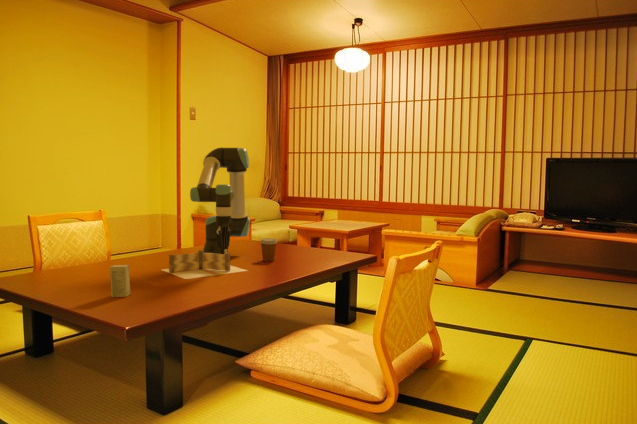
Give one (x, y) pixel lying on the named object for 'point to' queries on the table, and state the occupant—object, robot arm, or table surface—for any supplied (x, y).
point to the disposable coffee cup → (268, 249)
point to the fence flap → (216, 261)
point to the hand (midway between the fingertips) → (223, 261)
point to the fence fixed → (185, 261)
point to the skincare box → (120, 280)
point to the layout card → (203, 272)
